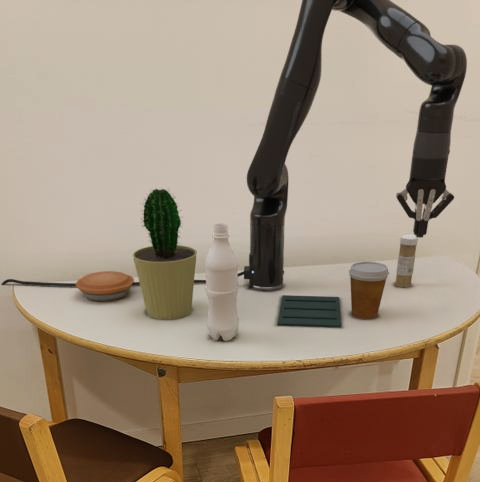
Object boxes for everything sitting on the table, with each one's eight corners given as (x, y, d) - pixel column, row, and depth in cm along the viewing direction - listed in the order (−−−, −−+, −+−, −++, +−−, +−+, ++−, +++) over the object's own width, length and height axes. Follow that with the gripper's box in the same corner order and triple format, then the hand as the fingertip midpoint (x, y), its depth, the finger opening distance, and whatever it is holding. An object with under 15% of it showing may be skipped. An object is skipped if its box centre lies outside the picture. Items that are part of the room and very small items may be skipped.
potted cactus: (211, 307, 154) (207, 183, 138) (173, 327, 143) (163, 194, 127) (165, 296, 161) (156, 178, 146) (126, 314, 151) (111, 188, 135)
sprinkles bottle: (405, 281, 170) (411, 233, 163) (414, 286, 167) (421, 237, 160) (391, 283, 169) (397, 235, 162) (400, 288, 165) (407, 239, 158)
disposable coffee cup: (381, 308, 152) (387, 261, 146) (385, 322, 144) (392, 273, 138) (344, 307, 153) (348, 260, 147) (346, 321, 145) (350, 272, 139)
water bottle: (207, 331, 141) (202, 221, 128) (237, 330, 141) (236, 220, 128) (208, 343, 135) (203, 229, 121) (240, 342, 135) (239, 228, 122)
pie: (65, 300, 160) (62, 281, 157) (98, 282, 172) (96, 265, 170) (115, 307, 155) (113, 288, 152) (145, 288, 167) (143, 271, 165)
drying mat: (277, 325, 143) (277, 321, 143) (282, 297, 160) (282, 294, 160) (340, 327, 142) (341, 324, 141) (338, 298, 159) (339, 295, 158)
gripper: (458, 152, 131) (445, 233, 140) (397, 152, 132) (388, 232, 142) (465, 157, 125) (451, 241, 134) (400, 157, 126) (391, 240, 135)
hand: (419, 236), depth 138 cm, fingers closed
